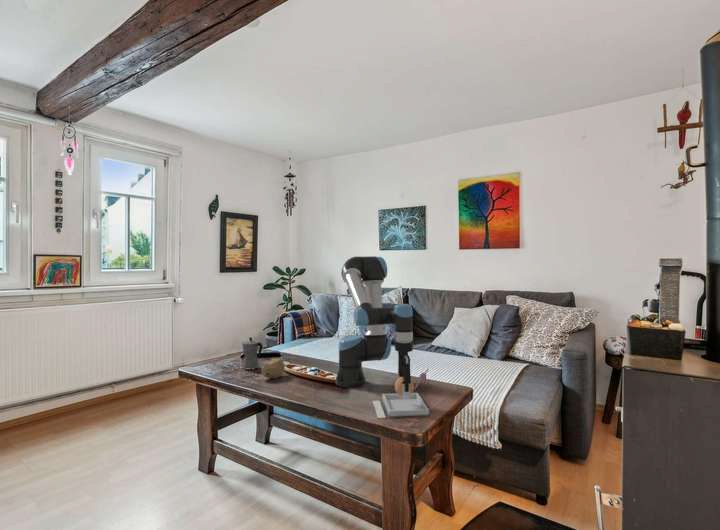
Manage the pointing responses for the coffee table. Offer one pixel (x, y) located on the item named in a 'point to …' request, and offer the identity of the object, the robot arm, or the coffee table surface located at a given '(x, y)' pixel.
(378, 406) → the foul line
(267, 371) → the low-poly potato
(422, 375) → the lily
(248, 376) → the coffee table surface
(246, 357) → the coffeepot
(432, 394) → the coffee table surface
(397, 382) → the ball
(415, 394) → the tray
